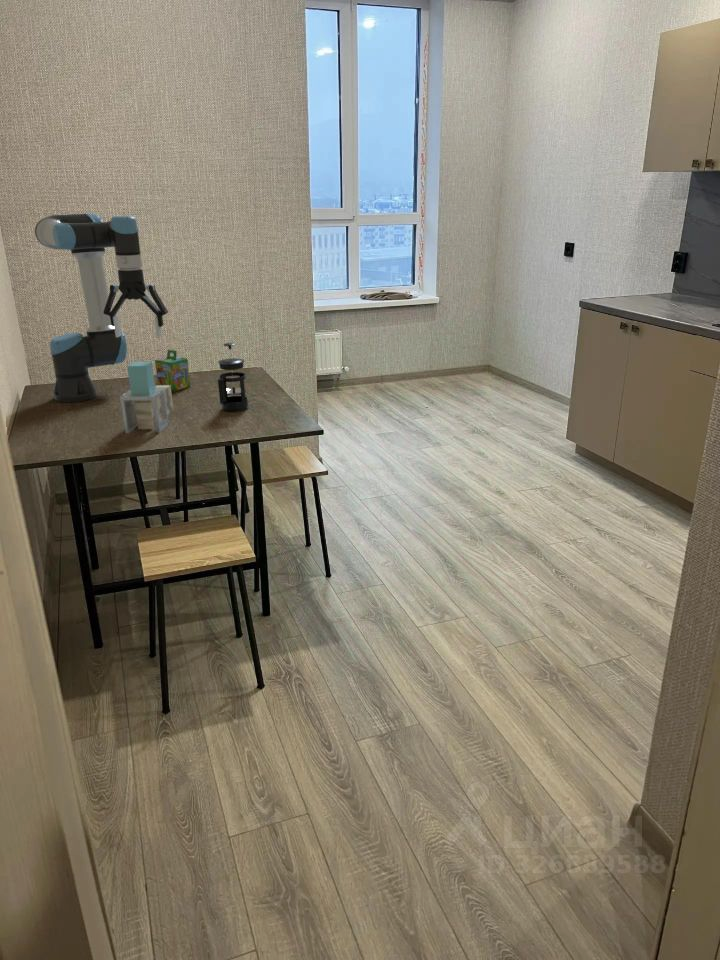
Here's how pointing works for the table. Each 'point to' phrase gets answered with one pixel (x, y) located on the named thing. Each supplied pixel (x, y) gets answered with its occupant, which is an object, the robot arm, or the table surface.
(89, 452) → the table surface
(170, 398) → the bar
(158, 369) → the chalk box
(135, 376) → the block
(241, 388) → the french press
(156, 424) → the grey open box
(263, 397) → the table surface
